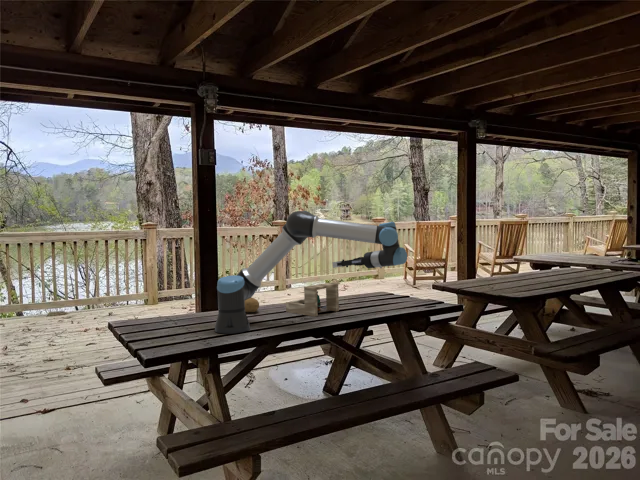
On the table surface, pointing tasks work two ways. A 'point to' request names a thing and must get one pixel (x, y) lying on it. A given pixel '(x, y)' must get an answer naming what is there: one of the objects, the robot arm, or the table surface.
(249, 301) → the potato
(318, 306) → the binoculars
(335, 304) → the tunnel
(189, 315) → the table surface
